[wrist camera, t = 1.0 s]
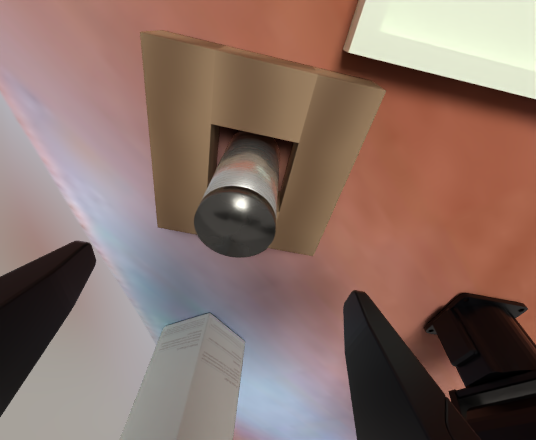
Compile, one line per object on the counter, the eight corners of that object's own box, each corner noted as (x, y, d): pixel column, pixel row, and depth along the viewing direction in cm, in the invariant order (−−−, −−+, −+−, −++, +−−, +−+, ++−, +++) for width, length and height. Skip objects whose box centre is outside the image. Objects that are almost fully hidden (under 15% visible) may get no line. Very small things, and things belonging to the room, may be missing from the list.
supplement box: (162, 325, 30) (101, 473, 20) (211, 310, 28) (169, 471, 18) (201, 352, 34) (165, 488, 24) (247, 341, 32) (229, 489, 22)
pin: (285, 134, 16) (284, 203, 10) (273, 182, 18) (266, 263, 12) (230, 122, 15) (194, 186, 9) (224, 172, 17) (193, 249, 12)
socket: (371, 80, 14) (386, 90, 12) (310, 233, 20) (312, 256, 18) (162, 30, 13) (139, 31, 11) (170, 206, 20) (157, 227, 18)
